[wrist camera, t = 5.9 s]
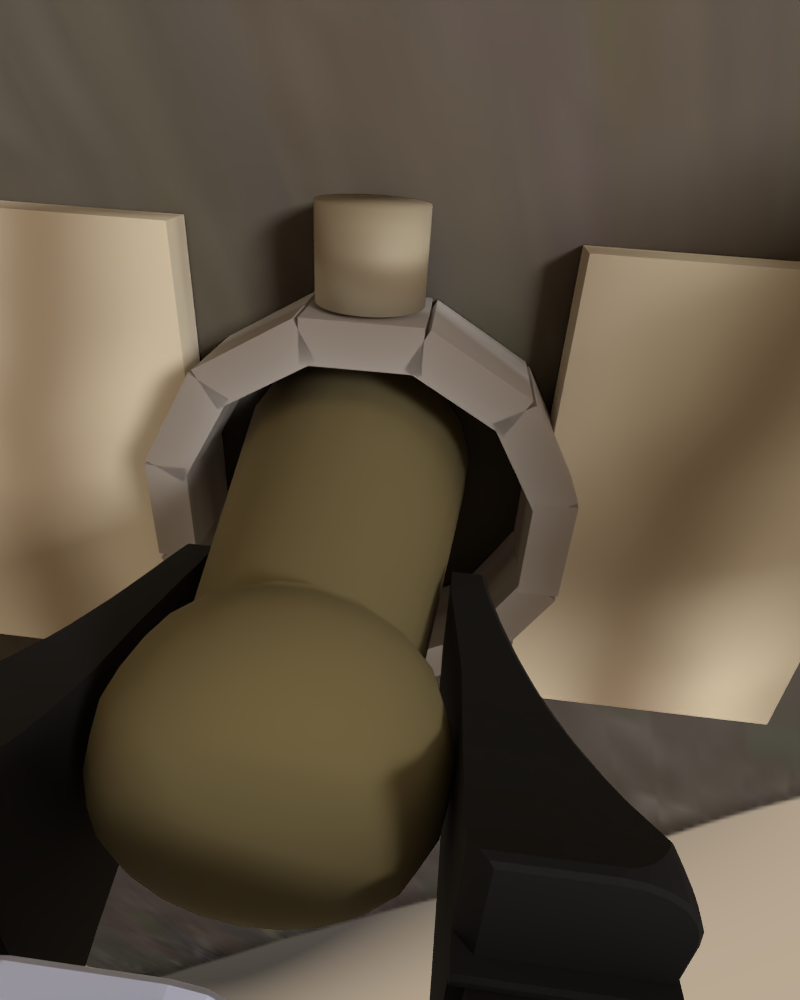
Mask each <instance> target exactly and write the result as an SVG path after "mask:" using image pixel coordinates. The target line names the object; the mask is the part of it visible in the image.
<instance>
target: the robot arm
mask: <svg viewBox="0 0 800 1000" xmlns="http://www.w3.org/2000/svg"><path fill="white" fill-rule="evenodd" d="M210 548H211V546H207V545H198V544H189V543H188V544H187V545H185V546H184V547H182V548H181V549H179V550H178V551H177V552H175V553H174V554H172V555H171V556H170V557H168V558H167V559H165V560H164V561H163V562H161V563H160V564H159V565H157V566H156V567H154V568H153V569H152V570H150V571H149V572H147V573H146V574H145V575H143V576H142V577H140V578H139V579H138V580H136V581H135V582H133V583H132V584H130V585H129V586H128V587H126V588H125V589H123V590H122V591H120V592H119V593H118V594H116V595H115V596H113V597H112V598H110V599H109V600H107V601H106V602H104V603H102V604H101V605H99V606H98V607H96V608H95V609H93V610H91V611H90V612H88V613H87V614H85V615H84V616H82V617H80V618H79V619H77V620H76V621H74V622H73V623H71V624H69V625H68V626H66V627H64V628H63V629H61V630H59V631H57V632H56V633H54V634H52V635H50V636H49V637H47V638H45V639H43V640H41V641H39V642H37V643H35V644H34V645H32V646H30V647H28V648H26V649H24V650H22V651H20V652H18V653H16V654H14V655H12V656H10V657H8V658H6V659H4V660H1V661H0V1000H227V999H225V998H223V997H221V996H220V995H218V994H216V993H214V992H212V991H211V990H209V989H207V988H203V987H199V986H196V985H192V984H188V983H184V982H181V981H177V980H173V979H167V978H160V977H154V976H147V975H140V974H133V973H127V972H120V971H113V970H106V969H100V968H93V967H86V966H85V965H86V962H87V959H88V956H89V953H90V949H91V946H92V943H93V940H94V937H95V934H96V930H97V927H98V924H99V921H100V918H101V915H102V913H103V910H104V907H105V904H106V901H107V898H108V895H109V892H110V889H111V886H112V883H113V880H114V878H115V875H116V872H117V869H118V866H119V864H118V863H117V861H116V860H115V859H114V858H113V857H112V855H111V854H110V853H109V852H108V851H107V849H106V848H105V847H104V846H103V845H102V843H101V842H100V841H99V840H98V839H97V837H96V834H95V831H94V828H93V825H92V822H91V819H90V816H89V813H88V810H87V807H86V798H85V789H84V779H83V766H84V761H85V755H86V750H87V745H88V740H89V735H90V732H91V728H92V724H93V721H94V717H95V713H96V709H97V706H98V702H99V699H100V697H101V695H102V694H103V692H104V691H105V689H106V687H107V686H108V684H109V683H110V681H111V679H112V678H113V676H114V675H115V673H116V671H117V670H118V668H119V667H120V665H121V664H122V663H123V662H124V661H125V659H126V658H127V657H128V656H129V655H130V653H131V652H132V651H133V650H134V649H135V647H136V646H137V645H138V644H139V643H140V641H141V640H142V639H143V638H144V637H145V636H146V635H147V634H148V633H149V632H150V631H151V630H152V629H153V628H154V627H156V626H157V625H158V624H159V623H160V622H161V621H162V620H163V619H164V618H165V617H167V616H168V615H169V614H170V613H172V612H174V611H176V610H177V609H179V608H181V607H183V606H185V605H187V604H189V603H191V602H193V601H194V599H195V596H196V592H197V589H198V586H199V583H200V580H201V577H202V573H203V570H204V567H205V564H206V561H207V558H208V554H209V551H210ZM440 693H441V696H442V699H443V702H444V706H445V709H446V712H447V716H448V719H449V722H450V725H451V729H452V732H453V740H454V774H453V780H452V787H451V793H450V799H449V805H448V809H447V813H446V816H445V820H444V824H443V827H442V831H441V839H440V856H439V871H438V887H437V902H436V917H435V933H434V947H433V961H432V976H431V990H430V1000H684V997H683V993H682V989H681V985H680V980H679V979H680V978H681V976H682V974H683V973H684V971H685V969H686V968H687V965H688V964H689V963H690V961H691V959H692V958H693V956H694V954H695V953H696V951H697V949H698V948H699V946H700V943H701V940H702V937H703V934H704V930H703V925H702V920H701V916H700V912H699V907H698V904H697V901H696V898H695V895H694V892H693V889H692V887H691V884H690V882H689V879H688V877H687V874H686V872H685V869H684V867H683V865H682V863H681V860H680V858H679V856H678V854H677V851H676V849H675V847H674V845H673V843H672V842H671V841H670V840H669V839H667V838H666V837H665V836H664V835H663V834H662V833H661V832H660V831H659V830H658V829H656V828H655V827H654V826H653V825H652V824H651V823H650V822H649V821H648V820H647V819H645V818H644V817H643V816H642V815H641V814H640V813H639V812H638V811H637V810H636V809H634V808H633V807H632V806H631V805H630V804H629V803H628V802H627V801H626V800H625V799H624V798H623V797H622V796H621V795H620V794H619V793H618V792H617V791H616V790H615V789H614V788H613V787H612V785H611V784H610V783H609V782H608V781H607V780H606V779H605V778H604V777H603V776H602V775H601V773H600V772H599V771H598V770H597V769H596V768H595V766H594V765H593V764H592V763H591V762H590V761H589V759H588V758H587V757H586V756H585V755H584V754H583V752H582V751H581V750H580V749H579V748H578V747H577V745H576V744H575V743H574V742H573V740H572V739H571V738H570V737H569V735H568V734H567V733H566V731H565V730H564V729H563V727H562V726H561V725H560V723H559V722H558V721H557V719H556V718H555V716H554V715H553V713H552V712H551V711H550V709H549V708H548V706H547V705H546V703H545V702H544V700H543V699H542V697H541V696H540V694H539V693H538V691H537V689H536V688H535V686H534V685H533V683H532V681H531V680H530V678H529V676H528V674H527V673H526V671H525V669H524V667H523V666H522V664H521V662H520V660H519V658H518V656H517V655H516V653H515V651H514V649H513V647H512V645H511V643H510V640H509V638H508V636H507V634H506V632H505V630H504V628H503V626H502V624H501V621H500V619H499V616H498V614H497V612H496V609H495V607H494V604H493V601H492V598H491V595H490V592H489V589H488V586H487V581H486V579H485V578H484V577H483V576H482V575H479V574H469V573H460V572H452V575H451V583H450V592H449V600H448V608H447V616H446V624H445V632H444V640H443V651H442V663H441V676H440Z"/></svg>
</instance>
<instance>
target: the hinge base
mask: <svg viewBox="0 0 800 1000" xmlns="http://www.w3.org/2000/svg"><path fill="white" fill-rule="evenodd" d="M432 208H433V205H432V204H431V203H429V202H426V201H422V200H417V199H412V198H405V197H397V196H386V195H372V194H329V195H321V196H317V197H314V274H315V292H313V293H311V294H309V295H307V296H305V297H303V298H301V299H299V300H297V301H295V302H293V303H291V304H290V305H288V306H286V307H284V308H282V309H280V310H278V311H276V312H274V313H272V314H270V315H268V316H266V317H265V318H263V319H261V320H259V321H257V322H255V323H253V324H251V325H249V326H247V327H245V328H243V329H241V330H240V331H238V332H236V333H234V334H232V335H230V336H228V337H227V338H226V339H225V340H224V341H223V342H222V343H221V344H219V345H218V346H217V347H216V348H215V349H214V350H213V351H212V352H211V353H209V354H208V355H207V356H206V357H205V358H204V359H203V360H202V361H200V357H199V348H198V339H197V330H196V321H195V311H194V302H193V293H192V284H191V275H190V266H189V257H188V248H187V239H186V229H185V220H184V214H171V213H158V212H145V211H132V210H119V209H106V208H93V207H80V206H67V205H54V204H41V203H27V202H14V201H1V200H0V634H7V635H16V636H24V637H33V638H41V639H45V638H47V637H49V636H50V635H52V634H54V633H56V632H57V631H59V630H61V629H63V628H64V627H66V626H68V625H69V624H71V623H73V622H74V621H76V620H77V619H79V618H80V617H82V616H84V615H85V614H87V613H88V612H90V611H91V610H93V609H95V608H96V607H98V606H99V605H101V604H102V603H104V602H106V601H107V600H109V599H110V598H112V597H113V596H115V595H116V594H118V593H119V592H120V591H122V590H123V589H125V588H126V587H128V586H129V585H130V584H132V583H133V582H135V581H136V580H138V579H139V578H140V577H142V576H143V575H145V574H146V573H147V572H149V571H150V570H152V569H153V568H154V567H156V566H157V565H159V564H160V563H161V562H163V561H164V560H165V559H167V558H168V557H170V556H171V555H172V554H174V553H175V552H177V551H178V550H179V549H181V548H182V547H184V546H185V545H187V544H188V543H189V544H198V545H207V546H211V545H212V542H213V539H214V535H215V532H216V529H217V526H218V523H219V520H220V517H221V513H222V510H223V507H224V504H225V501H226V498H227V494H228V489H227V479H226V468H225V458H224V448H223V437H222V431H223V429H224V427H225V425H226V423H227V422H228V420H229V418H230V416H231V414H232V413H233V411H234V409H235V407H236V405H237V404H238V402H239V400H240V398H242V397H244V396H246V395H248V394H250V393H252V392H254V391H257V390H259V389H261V388H263V387H265V386H267V385H269V384H271V383H273V382H275V381H277V380H280V379H282V378H284V377H286V376H288V375H290V374H292V373H294V372H296V371H298V370H300V369H302V368H305V367H307V366H316V367H327V368H338V369H350V370H361V371H372V372H383V373H394V374H405V375H412V376H414V377H415V378H417V379H418V380H420V381H421V382H423V383H424V384H426V385H427V386H429V387H430V388H432V389H433V390H435V391H436V392H438V393H439V394H441V395H442V396H444V397H445V398H447V399H448V400H450V401H451V402H453V403H454V404H456V405H457V406H459V407H460V408H462V409H463V410H465V411H466V412H468V413H469V414H471V415H472V416H474V417H475V418H477V419H478V420H480V421H481V422H483V423H484V424H486V425H487V426H489V427H490V428H492V429H493V430H495V431H496V432H497V434H498V436H499V439H500V441H501V443H502V445H503V447H504V449H505V452H506V454H507V456H508V458H509V460H510V462H511V465H512V467H513V469H514V471H515V473H516V475H517V478H518V480H519V482H520V484H521V486H522V487H521V493H520V498H519V504H518V510H517V515H516V521H515V526H514V531H513V532H512V533H511V534H510V535H509V536H508V537H507V538H506V539H505V540H504V541H503V542H502V543H501V544H500V545H499V546H498V548H497V549H496V550H495V551H494V552H493V553H492V554H491V555H490V556H489V557H488V558H487V559H486V560H485V561H484V562H483V563H482V564H481V566H480V567H479V568H478V569H477V570H476V571H475V572H474V573H473V574H479V575H482V576H483V577H484V578H485V579H486V581H487V586H488V589H489V592H490V595H491V598H492V601H493V604H494V607H495V609H496V612H497V614H498V616H499V619H500V621H501V624H502V626H503V628H504V630H505V632H506V634H507V636H508V638H509V640H510V643H511V645H512V647H513V649H514V651H515V653H516V655H517V656H518V658H519V660H520V662H521V664H522V666H523V667H524V669H525V671H526V673H527V674H528V676H529V678H530V680H531V681H532V683H533V685H534V686H535V688H536V689H537V691H538V693H539V694H540V696H541V697H542V698H547V699H555V700H563V701H572V702H580V703H589V704H597V705H605V706H614V707H622V708H631V709H639V710H648V711H656V712H664V713H673V714H681V715H690V716H698V717H707V718H715V719H723V720H732V721H740V722H749V723H757V724H766V725H767V723H768V722H769V720H770V718H771V716H772V714H773V712H774V710H775V708H776V706H777V704H778V702H779V701H780V699H781V697H782V695H783V693H784V691H785V689H786V687H787V685H788V683H789V681H790V680H791V678H792V676H793V674H794V672H795V670H796V668H797V666H798V664H799V662H800V262H797V261H784V260H771V259H758V258H745V257H732V256H719V255H706V254H693V253H680V252H667V251H654V250H641V249H628V248H615V247H602V246H589V245H583V249H582V254H581V259H580V264H579V270H578V275H577V280H576V285H575V290H574V296H573V301H572V306H571V311H570V317H569V322H568V327H567V332H566V337H565V343H564V348H563V353H562V358H561V363H560V369H559V374H558V379H557V384H556V389H555V395H554V400H553V405H552V410H551V415H549V413H548V410H547V408H546V406H545V403H544V401H543V398H542V396H541V394H540V391H539V389H538V386H537V384H536V381H535V379H534V377H533V374H532V372H531V369H530V367H529V366H528V367H527V365H526V362H525V361H524V360H522V359H521V358H520V357H518V356H517V355H515V354H514V353H512V352H511V351H510V350H508V349H507V348H505V347H504V346H503V345H501V344H500V343H498V342H497V341H495V340H494V339H493V338H491V337H490V336H488V335H487V334H486V333H484V332H483V331H481V330H480V329H478V328H477V327H476V326H474V325H473V324H471V323H470V322H469V321H467V320H466V319H464V318H463V317H461V316H460V315H459V314H457V313H456V312H454V311H453V310H452V309H450V308H449V307H447V306H446V305H444V304H443V303H442V302H440V301H439V300H437V302H436V303H435V305H434V306H433V308H432V300H433V298H427V297H426V288H427V274H428V261H429V248H430V234H431V221H432ZM449 592H450V585H449V586H446V587H443V588H442V590H441V595H440V599H439V603H438V608H437V612H436V616H435V621H434V625H433V630H432V634H431V638H430V643H429V647H428V651H427V656H426V661H427V662H428V663H429V665H430V666H431V667H432V668H433V671H434V675H435V676H439V675H441V663H442V651H443V640H444V632H445V624H446V616H447V608H448V600H449Z"/></svg>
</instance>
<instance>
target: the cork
mask: <svg viewBox="0 0 800 1000" xmlns="http://www.w3.org/2000/svg"><path fill="white" fill-rule="evenodd" d="M468 462H469V452H468V448H467V444H466V439H465V435H464V431H463V426H462V423H461V421H460V420H459V418H458V417H457V415H456V414H455V412H454V410H453V409H452V407H451V406H450V404H449V403H448V401H447V399H446V398H445V397H444V396H442V395H441V394H439V393H438V392H436V391H435V390H433V389H432V388H430V387H429V386H427V385H426V384H424V383H423V382H421V381H420V380H418V379H417V378H415V377H414V376H412V375H405V374H394V373H383V372H372V371H361V370H350V369H338V368H327V367H316V366H307V367H305V368H302V369H300V370H298V371H296V372H294V373H292V374H290V375H288V376H286V377H284V378H282V379H280V380H277V381H275V382H274V383H273V384H272V385H271V387H270V388H269V389H268V391H267V392H266V393H265V395H264V396H263V397H262V399H261V400H260V401H259V402H258V404H257V405H256V406H255V409H254V412H253V415H252V419H251V422H250V425H249V428H248V431H247V434H246V438H245V441H244V444H243V447H242V450H241V453H240V456H239V460H238V463H237V466H236V469H235V472H234V475H233V479H232V482H231V485H230V488H229V491H228V494H227V498H226V501H225V504H224V507H223V510H222V513H221V517H220V520H219V523H218V526H217V529H216V532H215V535H214V539H213V542H212V545H211V548H210V551H209V554H208V558H207V561H206V564H205V567H204V570H203V573H202V577H201V580H200V583H199V586H198V589H197V592H196V596H195V599H194V601H193V602H191V603H189V604H187V605H185V606H183V607H181V608H179V609H177V610H176V611H174V612H172V613H170V614H169V615H168V616H167V617H165V618H164V619H163V620H162V621H161V622H160V623H159V624H158V625H157V626H156V627H154V628H153V629H152V630H151V631H150V632H149V633H148V634H147V635H146V636H145V637H144V638H143V639H142V640H141V641H140V643H139V644H138V645H137V646H136V647H135V649H134V650H133V651H132V652H131V653H130V655H129V656H128V657H127V658H126V659H125V661H124V662H123V663H122V664H121V665H120V667H119V668H118V670H117V671H116V673H115V675H114V676H113V678H112V679H111V681H110V683H109V684H108V686H107V687H106V689H105V691H104V692H103V694H102V695H101V697H100V699H99V702H98V706H97V709H96V713H95V717H94V721H93V724H92V728H91V732H90V735H89V740H88V745H87V750H86V755H85V761H84V766H83V779H84V789H85V798H86V807H87V810H88V813H89V816H90V819H91V822H92V825H93V828H94V831H95V834H96V837H97V839H98V840H99V841H100V842H101V843H102V845H103V846H104V847H105V848H106V849H107V851H108V852H109V853H110V854H111V855H112V857H113V858H114V859H115V860H116V861H117V863H118V864H119V865H120V866H121V867H122V868H123V869H124V870H125V871H126V872H127V873H128V874H129V875H130V876H131V877H132V878H133V879H135V880H136V881H137V882H139V883H140V884H142V885H143V886H145V887H146V888H147V889H149V890H150V891H152V892H153V893H154V894H156V895H157V896H159V897H160V898H161V899H163V900H166V901H168V902H170V903H172V904H174V905H177V906H179V907H181V908H183V909H186V910H188V911H190V912H192V913H194V914H197V915H199V916H203V917H207V918H211V919H214V920H218V921H222V922H226V923H229V924H233V925H237V926H245V927H254V928H264V929H273V930H289V929H305V928H318V927H322V926H326V925H330V924H333V923H337V922H341V921H345V920H348V919H352V918H355V917H358V916H361V915H363V914H366V913H369V912H371V911H372V910H374V909H376V908H378V907H379V906H381V905H383V904H384V903H386V902H388V901H389V900H391V899H393V898H395V897H396V896H398V895H399V894H400V893H401V892H402V890H403V889H404V888H405V887H406V885H407V884H408V883H409V881H410V880H411V879H412V877H413V876H414V875H415V873H416V872H417V871H418V869H419V868H420V867H421V865H422V864H423V862H424V861H425V859H426V858H427V856H428V855H429V854H430V852H431V851H432V849H433V848H434V846H435V845H436V843H437V842H438V841H439V838H440V835H441V831H442V827H443V824H444V820H445V816H446V813H447V809H448V805H449V799H450V793H451V787H452V780H453V774H454V740H453V732H452V729H451V725H450V722H449V719H448V716H447V712H446V709H445V706H444V702H443V699H442V696H441V693H440V690H439V687H438V684H437V681H436V678H435V675H434V671H433V668H432V667H431V666H430V665H429V663H428V662H427V661H426V656H427V651H428V647H429V643H430V638H431V634H432V630H433V625H434V621H435V616H436V612H437V608H438V603H439V599H440V595H441V590H442V586H443V582H444V577H445V573H446V569H447V564H448V560H449V555H450V551H451V547H452V542H453V538H454V534H455V529H456V525H457V521H458V516H459V512H460V507H461V503H462V499H463V494H464V490H465V485H466V477H467V469H468Z"/></svg>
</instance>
